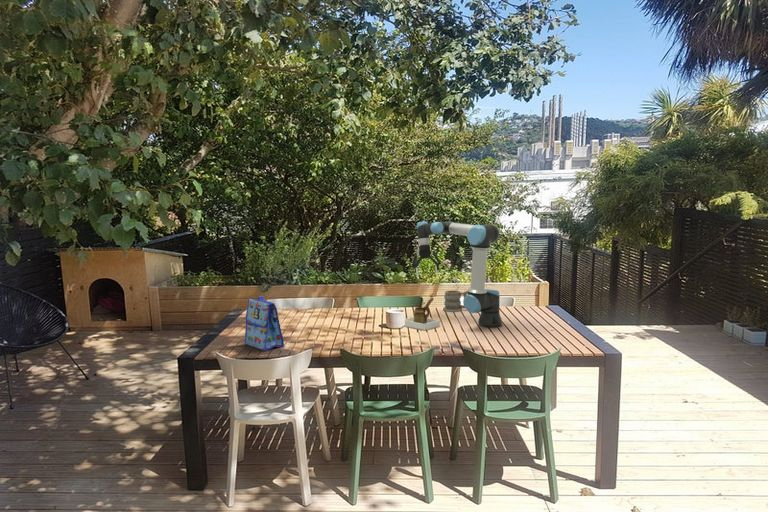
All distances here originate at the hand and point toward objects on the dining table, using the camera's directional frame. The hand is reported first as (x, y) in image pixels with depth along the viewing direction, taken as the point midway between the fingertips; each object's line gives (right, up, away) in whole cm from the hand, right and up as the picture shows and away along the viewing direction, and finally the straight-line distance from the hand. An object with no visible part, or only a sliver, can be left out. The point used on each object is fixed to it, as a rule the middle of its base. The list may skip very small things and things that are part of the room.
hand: (427, 276), depth 360 cm
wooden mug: (-4, -31, -15) cm, 35 cm away
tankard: (+24, -26, +31) cm, 47 cm away
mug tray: (-6, -31, -16) cm, 35 cm away
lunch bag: (-97, -38, -54) cm, 117 cm away
